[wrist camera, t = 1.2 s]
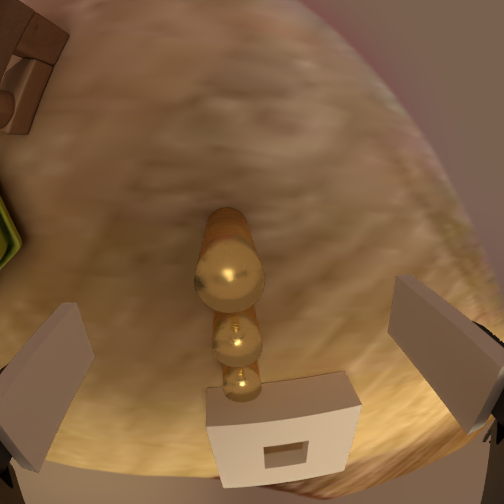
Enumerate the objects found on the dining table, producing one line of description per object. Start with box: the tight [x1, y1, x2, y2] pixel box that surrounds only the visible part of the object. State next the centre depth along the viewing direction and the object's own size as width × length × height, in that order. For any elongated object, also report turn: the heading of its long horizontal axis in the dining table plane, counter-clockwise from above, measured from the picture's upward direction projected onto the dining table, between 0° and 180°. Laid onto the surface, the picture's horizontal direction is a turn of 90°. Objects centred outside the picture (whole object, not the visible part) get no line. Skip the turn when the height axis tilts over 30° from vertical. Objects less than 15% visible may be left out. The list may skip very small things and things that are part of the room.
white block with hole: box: [206, 371, 362, 488], centre depth 32 cm, size 16×14×6 cm
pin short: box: [222, 360, 262, 402], centre depth 29 cm, size 4×4×5 cm
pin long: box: [194, 208, 265, 313], centre depth 21 cm, size 4×4×12 cm
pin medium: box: [212, 304, 262, 367], centre depth 26 cm, size 4×4×8 cm
